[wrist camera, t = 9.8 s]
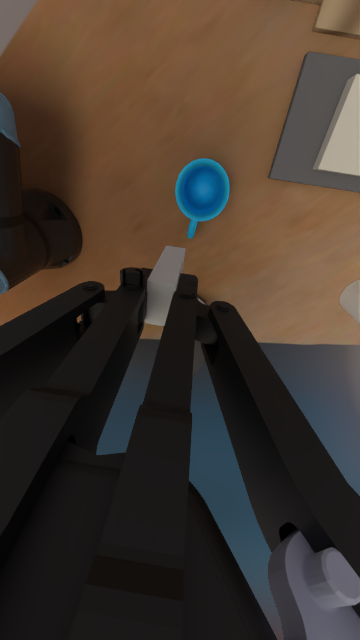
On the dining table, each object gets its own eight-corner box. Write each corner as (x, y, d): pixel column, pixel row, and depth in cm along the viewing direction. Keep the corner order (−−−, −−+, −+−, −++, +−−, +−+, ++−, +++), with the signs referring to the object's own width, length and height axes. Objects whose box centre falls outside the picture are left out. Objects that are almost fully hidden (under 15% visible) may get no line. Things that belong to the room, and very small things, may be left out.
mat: (267, 177, 37) (269, 178, 36) (304, 55, 29) (308, 51, 28) (383, 196, 37) (388, 196, 36) (451, 78, 29) (460, 74, 28)
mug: (187, 154, 37) (182, 150, 30) (232, 168, 37) (238, 167, 30) (171, 227, 43) (164, 237, 37) (210, 238, 44) (210, 250, 37)
